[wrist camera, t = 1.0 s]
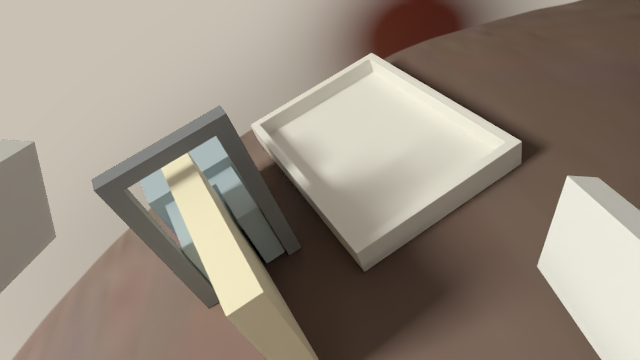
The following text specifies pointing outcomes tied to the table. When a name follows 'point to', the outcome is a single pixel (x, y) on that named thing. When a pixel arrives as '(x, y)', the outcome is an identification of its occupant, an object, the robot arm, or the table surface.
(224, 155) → the door frame
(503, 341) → the table surface
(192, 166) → the cream rectangular board
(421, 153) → the tray
